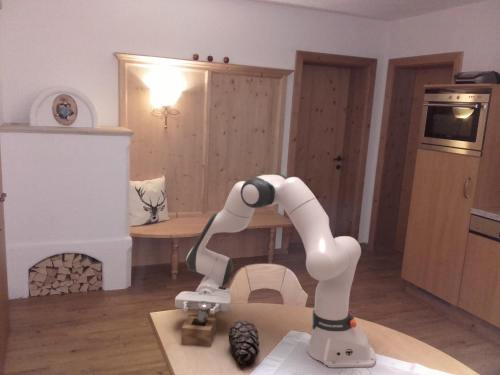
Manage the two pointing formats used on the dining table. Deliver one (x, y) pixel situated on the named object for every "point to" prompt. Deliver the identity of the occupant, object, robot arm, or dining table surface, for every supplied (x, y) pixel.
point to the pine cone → (244, 343)
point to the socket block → (198, 331)
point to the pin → (203, 312)
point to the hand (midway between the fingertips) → (198, 311)
